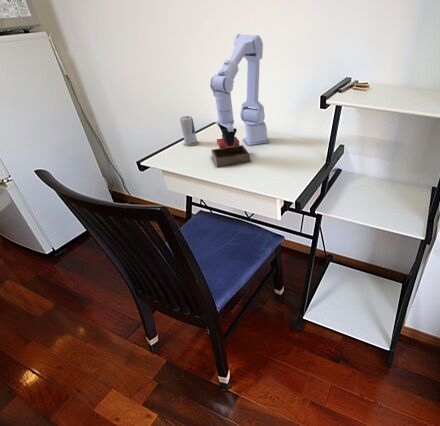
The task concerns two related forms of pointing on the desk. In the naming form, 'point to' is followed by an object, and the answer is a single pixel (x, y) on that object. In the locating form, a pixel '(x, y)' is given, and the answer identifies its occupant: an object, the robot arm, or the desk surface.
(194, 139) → the energy drink
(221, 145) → the red block
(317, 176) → the desk surface
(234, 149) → the crate
